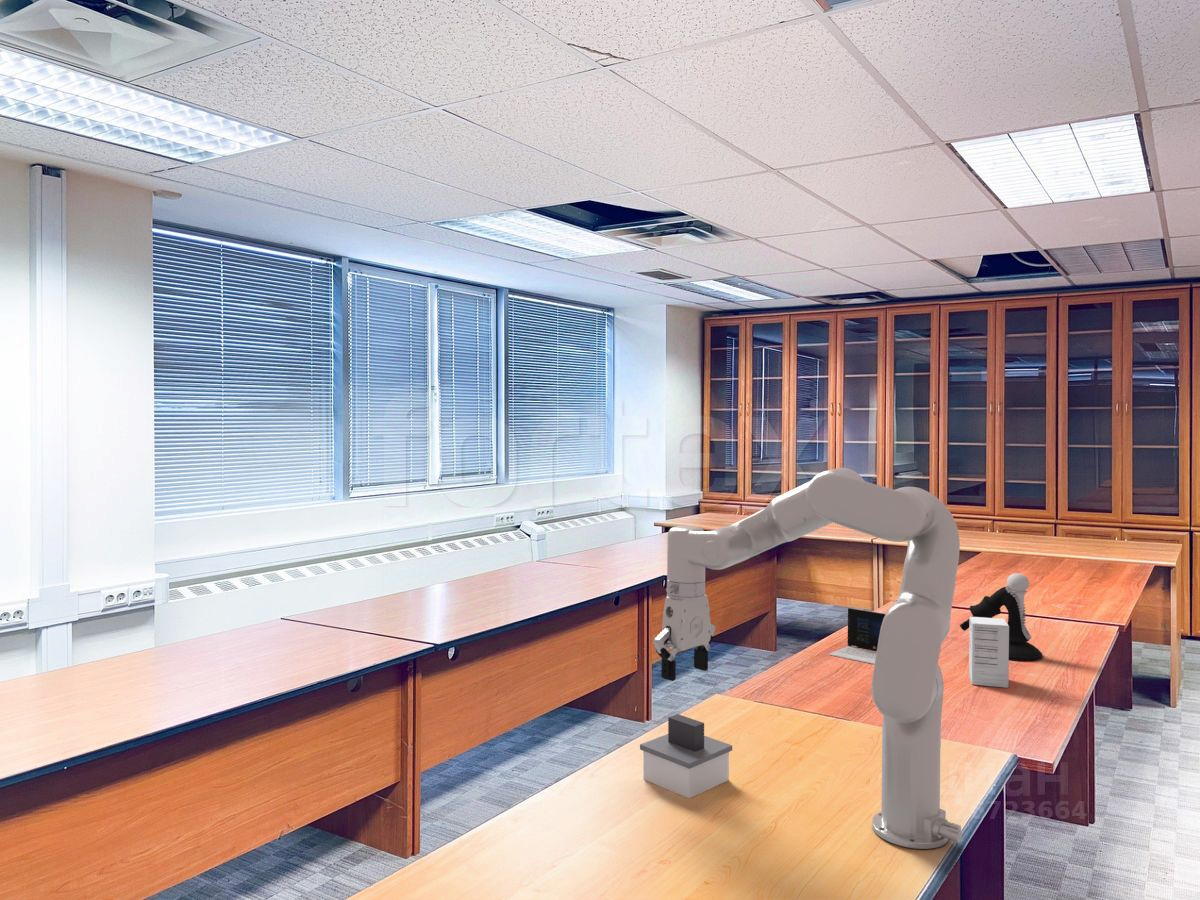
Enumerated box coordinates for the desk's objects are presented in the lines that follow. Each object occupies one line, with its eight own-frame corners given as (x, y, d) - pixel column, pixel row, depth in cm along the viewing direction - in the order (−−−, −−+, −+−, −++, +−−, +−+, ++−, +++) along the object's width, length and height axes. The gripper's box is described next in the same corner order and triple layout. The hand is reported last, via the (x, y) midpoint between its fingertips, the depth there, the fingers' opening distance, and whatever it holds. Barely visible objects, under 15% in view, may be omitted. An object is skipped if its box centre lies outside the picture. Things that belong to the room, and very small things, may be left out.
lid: (732, 750, 168) (732, 720, 168) (689, 768, 160) (689, 737, 159) (683, 732, 178) (683, 704, 178) (639, 749, 169) (639, 719, 169)
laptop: (828, 656, 258) (828, 614, 258) (847, 648, 267) (848, 607, 267) (884, 668, 246) (885, 623, 246) (903, 659, 255) (903, 616, 255)
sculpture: (1034, 664, 248) (1035, 579, 247) (951, 650, 263) (952, 570, 262) (1047, 653, 259) (1049, 572, 258) (967, 640, 275) (968, 564, 274)
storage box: (728, 780, 169) (728, 750, 168) (689, 798, 160) (689, 767, 160) (683, 762, 177) (683, 734, 177) (643, 779, 169) (643, 749, 169)
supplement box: (1009, 688, 226) (1010, 626, 225) (971, 685, 229) (972, 623, 228) (1004, 678, 235) (1005, 618, 234) (968, 675, 238) (969, 615, 237)
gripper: (670, 598, 159) (669, 688, 160) (728, 586, 171) (727, 669, 171) (641, 591, 164) (641, 678, 165) (699, 580, 176) (698, 661, 177)
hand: (684, 674), depth 168 cm, fingers open, 9 cm apart
